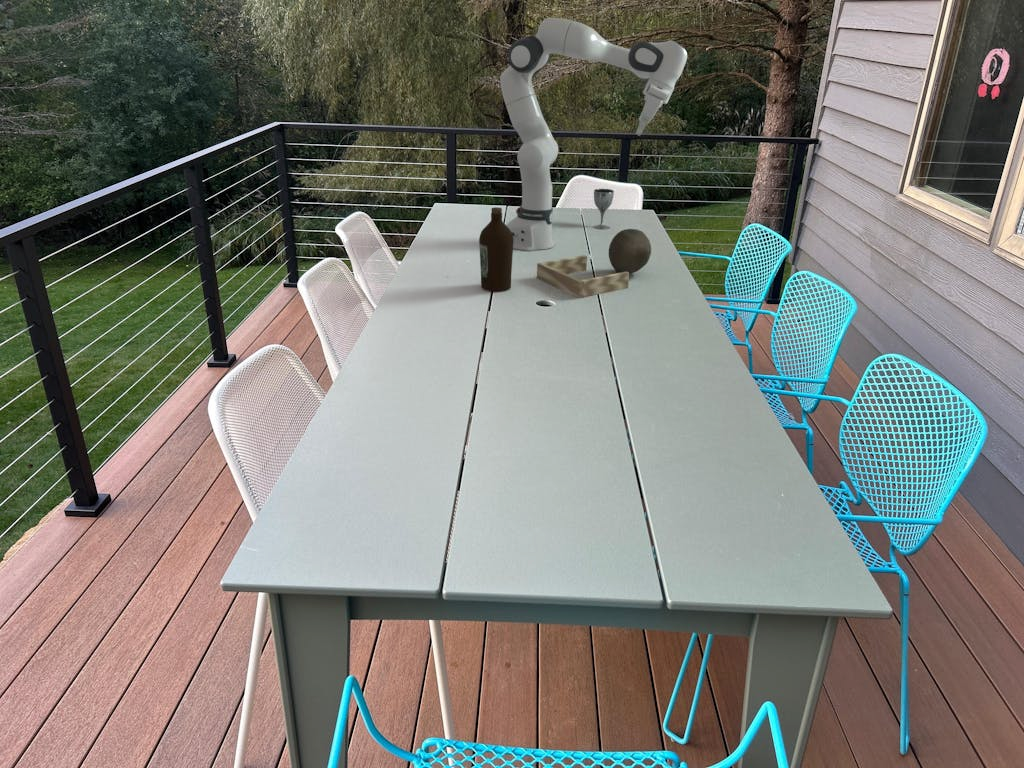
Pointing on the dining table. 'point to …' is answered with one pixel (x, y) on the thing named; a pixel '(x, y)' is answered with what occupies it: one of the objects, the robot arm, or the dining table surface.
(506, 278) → the olive oil
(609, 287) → the box
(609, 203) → the wine glass
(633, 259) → the cantaloupe
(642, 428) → the dining table surface
